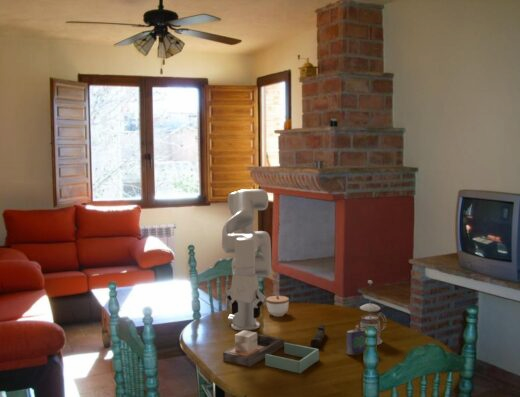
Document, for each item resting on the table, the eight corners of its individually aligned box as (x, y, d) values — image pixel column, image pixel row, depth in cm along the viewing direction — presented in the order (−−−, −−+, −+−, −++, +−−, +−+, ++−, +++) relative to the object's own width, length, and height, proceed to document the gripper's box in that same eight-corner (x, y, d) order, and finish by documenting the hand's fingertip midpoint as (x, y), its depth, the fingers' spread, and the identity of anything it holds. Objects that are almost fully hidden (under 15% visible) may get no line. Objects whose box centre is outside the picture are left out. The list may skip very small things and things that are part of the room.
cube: (235, 350, 204) (234, 334, 204) (244, 345, 209) (243, 330, 209) (248, 353, 201) (248, 337, 201) (257, 348, 206) (257, 332, 206)
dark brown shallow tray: (223, 360, 203) (223, 351, 203) (258, 341, 223) (258, 333, 223) (250, 366, 197) (250, 357, 197) (283, 346, 217) (283, 338, 217)
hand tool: (320, 349, 214) (320, 338, 213) (310, 348, 215) (310, 337, 214) (329, 334, 232) (329, 323, 231) (320, 333, 233) (320, 322, 232)
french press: (365, 335, 229) (365, 276, 227) (390, 341, 221) (391, 280, 219) (353, 341, 221) (353, 280, 219) (379, 347, 214) (379, 284, 212)
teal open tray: (265, 365, 198) (265, 354, 197) (285, 352, 210) (285, 342, 210) (300, 373, 190) (300, 362, 190) (318, 359, 202) (318, 349, 202)
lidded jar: (261, 315, 259) (261, 295, 259) (275, 310, 268) (275, 291, 267) (279, 319, 253) (279, 299, 252) (293, 314, 261) (293, 294, 260)
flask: (348, 355, 206) (348, 328, 205) (345, 353, 209) (345, 325, 208) (370, 352, 209) (370, 325, 208) (366, 350, 212) (366, 323, 211)
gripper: (220, 269, 204) (221, 314, 206) (259, 275, 195) (259, 322, 197) (231, 265, 211) (232, 309, 213) (270, 271, 201) (270, 316, 203)
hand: (245, 315), depth 205 cm, fingers open, 9 cm apart
